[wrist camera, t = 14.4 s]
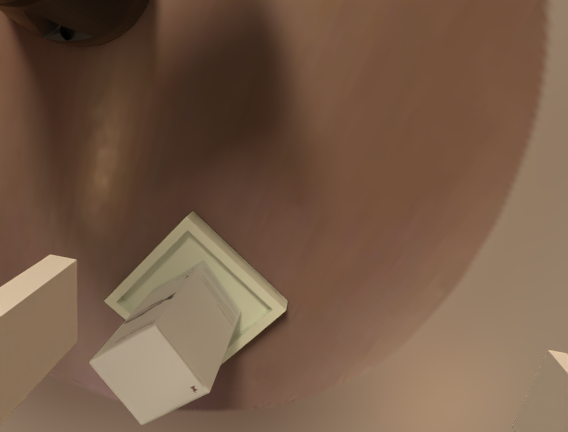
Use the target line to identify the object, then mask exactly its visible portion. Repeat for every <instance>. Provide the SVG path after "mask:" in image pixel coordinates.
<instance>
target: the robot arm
mask: <svg viewBox="0 0 568 432" xmlns="http://www.w3.org/2000/svg"><path fill="white" fill-rule="evenodd" d="M148 1H149V0H0V10H1V11H2V12H3V13H5V14H6V15H7V16H9V17H10V18H11V19H13V20H14V21H15V22H17V23H18V24H19V25H21V26H22V27H24V28H25V29H27V30H28V31H30V32H32V33H34V34H36V35H38V36H40V37H42V38H45V39H47V40H50V41H54V42H58V43H63V44H68V45H74V46H95V45H100V44H104V43H107V42H109V41H112V40H114V39H116V38H117V37H119V36H121V35H122V34H123V33H125V32H126V31H127V30H128V29H130V28H131V27H132V26H133V25H134V23H135V22H136V21H137V20H138V18H139V17H140V16H141V14H142V12H143V11H144V9H145V7H146V5H147V3H148ZM76 342H77V260H76V259H71V258H66V257H61V256H55V255H49V256H47V257H46V258H44V259H43V260H41V261H40V262H38V263H37V264H35V265H33V266H32V267H30V268H29V269H27V270H26V271H24V272H23V273H21V274H20V275H18V276H17V277H15V278H14V279H12V280H10V281H9V282H7V283H6V284H4V285H3V286H1V287H0V425H1V424H2V423H3V422H4V421H5V420H6V418H7V417H8V416H9V415H10V414H11V413H12V412H13V411H14V410H15V409H16V408H17V407H18V405H19V404H20V403H21V402H22V401H23V400H24V399H25V398H26V397H27V396H28V395H29V394H30V392H31V391H32V390H33V389H34V388H35V387H36V386H37V385H38V384H39V383H40V382H41V380H42V379H43V378H44V377H45V376H46V375H47V374H48V373H49V372H50V371H51V370H52V369H53V367H54V366H55V365H56V364H57V363H58V362H59V361H60V360H61V359H62V358H63V357H64V356H65V354H66V353H67V352H68V351H69V350H70V349H71V348H72V347H73V346H74V345H75V344H76ZM512 428H513V430H514V432H568V354H567V353H562V352H556V351H551V350H548V351H547V353H546V355H545V358H544V359H543V362H542V364H541V366H540V368H539V370H538V372H537V374H536V376H535V379H534V381H533V383H532V385H531V387H530V389H529V391H528V393H527V396H526V398H525V400H524V402H523V404H522V406H521V408H520V411H519V413H518V415H517V417H516V419H515V421H514V423H513V426H512Z"/></svg>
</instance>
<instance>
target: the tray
mask: <svg viewBox="0 0 568 432" xmlns="http://www.w3.org/2000/svg"><path fill="white" fill-rule="evenodd" d="M201 261H205V262H206V263H207V264H208V266H209V267H210V268H211V270H212V271H213V273H214V274H215V275H216V277H217V278H218V280H219V281H220V282H221V284H222V285H223V287H224V288H225V290H226V291H227V292H228V294H229V295H230V297H231V298H232V299H233V301H234V302H235V304H236V305H237V307H238V308H239V309H240V311H241V314H240V317H239V319H238V322H237V324H236V327H235V329H234V332H233V334H232V337H231V340H230V342H229V345H228V347H227V350H226V352H225V355H224V358H223V360H222V363H221V365H222V364H223V363H224V362H225V361H226V360H228V359H229V358H230V357H231V356H232V355H234V354H235V353H236V352H237V351H238V350H240V349H241V348H242V347H243V346H244V345H246V344H247V343H248V342H249V341H250V340H252V339H253V338H254V337H255V336H256V335H257V334H259V333H260V332H261V331H262V330H263V329H265V328H266V327H267V326H268V325H269V324H271V323H272V322H273V321H274V320H275V319H277V318H278V317H279V316H280V315H281V314H283V313H284V312H285V311H286V309H287V303H288V300H286V299H285V298H284V297H283V296H282V295H281V294H280V293H279V292H278V291H277V290H276V289H275V288H274V287H273V286H272V285H271V284H270V283H269V282H267V281H266V280H265V279H264V278H263V277H262V276H261V275H260V274H259V273H258V272H257V271H256V270H255V269H254V268H253V267H252V266H251V265H250V264H249V263H247V262H246V261H245V260H244V259H243V258H242V257H241V256H240V255H239V254H238V253H237V252H236V251H235V250H234V249H233V248H232V247H231V246H230V245H228V244H227V243H226V242H225V241H224V240H223V239H222V238H221V237H220V236H219V235H218V234H217V233H216V232H215V231H214V230H213V229H212V228H211V227H210V226H208V225H207V224H206V223H205V222H204V221H203V220H202V219H201V218H200V217H199V216H198V215H197V214H196V213H195V212H194V211H192V212H191V213H190V214H189V215H188V216H186V217H185V218H184V220H183V221H182V222H181V223H180V224H179V225H178V226H177V227H176V228H175V229H174V230H173V231H172V232H171V233H170V234H169V235H168V236H167V237H166V238H165V239H164V240H163V241H162V242H161V243H160V244H159V245H158V246H157V247H156V248H155V249H154V250H153V251H152V252H151V253H150V254H149V255H148V256H147V257H146V259H145V260H144V261H143V262H142V263H141V264H140V265H139V266H138V267H137V268H136V269H135V270H134V271H133V272H132V273H131V274H130V275H129V276H128V277H127V278H126V279H125V280H124V281H123V282H122V283H121V284H120V285H119V286H118V287H117V288H116V289H115V290H114V291H113V292H112V293H111V294H110V295H109V296H108V297H107V299H106V300H105V301H104V302H105V303H106V304H108V305H109V306H110V307H111V308H112V309H113V310H115V311H116V312H117V313H118V314H119V315H120V316H121V317H123V318H124V319H125V320H126V319H127V318H128V317H129V316H130V315H131V313H132V312H133V311H134V310H135V309H136V308H137V307H138V306H139V304H140V303H141V302H142V301H143V300H144V299H145V298H146V297H147V296H148V294H149V293H150V292H151V291H152V290H153V289H155V288H157V287H159V286H161V285H163V284H165V283H166V282H168V281H170V280H172V279H174V278H175V277H177V276H179V275H181V274H182V273H184V272H186V271H187V270H189V269H190V268H192V267H194V266H195V265H197V264H198V263H200V262H201Z"/></svg>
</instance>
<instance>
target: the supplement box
mask: <svg viewBox="0 0 568 432" xmlns="http://www.w3.org/2000/svg"><path fill="white" fill-rule="evenodd" d="M240 314H241V311H240V309H239V308H238V307H237V305H236V304H235V302H234V301H233V299H232V298H231V297H230V295H229V294H228V292H227V291H226V290H225V288H224V287H223V285H222V284H221V282H220V281H219V280H218V278H217V277H216V275H215V274H214V273H213V271H212V270H211V268H210V267H209V266H208V264H207V263H206V262H205V261H201V262H200V263H198V264H197V265H195V266H194V267H192V268H190V269H189V270H187V271H186V272H184V273H182V274H181V275H179V276H177V277H175V278H174V279H172V280H170V281H168V282H166V283H165V284H163V285H161V286H159V287H157V288H155V289H153V290H152V291H151V292H150V293H149V294H148V296H147V297H146V298H145V299H144V300H143V301H142V302H141V303H140V304H139V306H138V307H137V308H136V309H135V310H134V311H133V312H132V313H131V315H130V316H129V317H128V318H127V319H126V320H125V321H124V322H123V324H122V325H121V326H120V327H119V328H118V329H117V330H116V332H115V333H114V334H113V335H112V336H111V337H110V339H109V340H108V341H107V342H106V343H105V344H104V345H103V347H102V348H101V349H100V350H99V351H98V352H97V353H96V355H95V356H94V357H93V358H92V359H91V360H90V361H89V364H90V365H91V366H92V367H93V369H94V370H95V371H96V372H97V373H98V375H99V376H100V377H101V378H102V379H103V380H104V382H105V383H106V384H107V385H108V386H109V388H110V389H111V390H112V391H113V392H114V394H115V395H116V396H117V397H118V398H119V399H120V400H121V402H122V403H123V404H124V405H125V406H126V407H127V408H128V410H129V411H130V412H131V414H132V415H133V416H134V417H135V419H136V420H137V421H138V422H139V423H140V425H144V424H146V423H148V422H150V421H152V420H154V419H156V418H158V417H161V416H163V415H165V414H167V413H169V412H171V411H173V410H176V409H178V408H180V407H181V406H183V405H185V404H187V403H189V402H191V401H194V400H196V399H198V398H200V397H202V396H204V395H206V394H208V393H210V391H211V388H212V386H213V383H214V381H215V378H216V375H217V373H218V370H219V368H220V365H221V363H222V360H223V358H224V355H225V352H226V350H227V347H228V345H229V342H230V340H231V337H232V334H233V332H234V329H235V327H236V324H237V322H238V319H239V317H240Z"/></svg>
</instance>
